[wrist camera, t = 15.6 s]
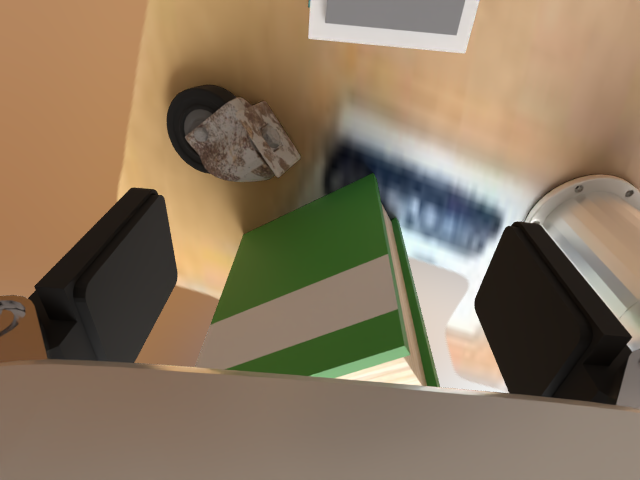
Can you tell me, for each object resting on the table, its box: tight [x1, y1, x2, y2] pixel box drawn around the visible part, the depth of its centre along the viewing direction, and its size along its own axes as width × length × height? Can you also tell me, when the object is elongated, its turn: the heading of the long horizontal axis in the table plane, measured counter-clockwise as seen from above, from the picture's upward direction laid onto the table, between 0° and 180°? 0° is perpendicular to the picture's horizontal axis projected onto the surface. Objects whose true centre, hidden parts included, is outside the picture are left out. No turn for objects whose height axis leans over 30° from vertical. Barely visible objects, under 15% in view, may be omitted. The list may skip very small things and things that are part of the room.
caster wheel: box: [167, 85, 301, 182], centre depth 38 cm, size 7×11×10 cm
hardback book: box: [195, 173, 440, 387], centre depth 37 cm, size 18×7×24 cm, turn 119°
